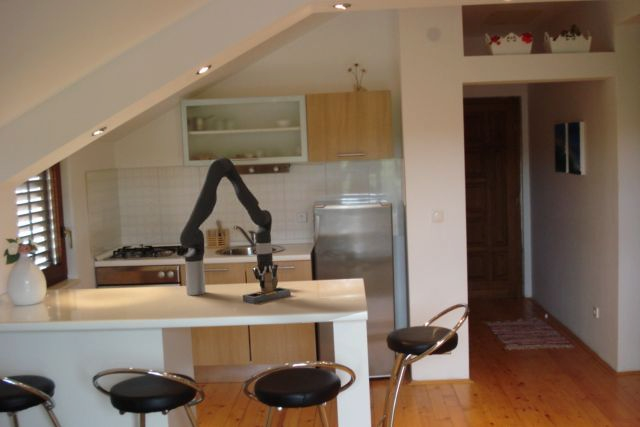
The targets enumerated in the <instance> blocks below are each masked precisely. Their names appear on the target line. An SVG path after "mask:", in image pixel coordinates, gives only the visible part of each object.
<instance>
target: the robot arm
mask: <svg viewBox="0 0 640 427" xmlns="http://www.w3.org/2000/svg"><path fill="white" fill-rule="evenodd" d="M223 178H226V179H227V180H228V181H229V182H230V184H231V185H232V187H233V189H234V192H235V196H236V198H237V199H238V201H239V203H240V204H241V205H242V206H243V208H244V209H245V210H246V211H247V214H248V216H249V218H250V219H251V221H252V222H253V224H255V225H256V226H258V229H257V231H256V233H255V234H256V235H255V240H256V247H255V248H256V249H255V250H256V261H257V265H256V267H253V268H252V272H253V275H254V278H255V280H258V281H259V287H260V289H261V288H264V273H266V272H272V285H273V277H275V276H276V273H277V272H278V268H279V265H278V264H275V263H274V264H273V263H272V261H273V247H272V236H271V235H272V234H271V232H272V231H271V230H272V224H273V217H272V213H271V212H270V211H269V210H266V209H261V208H260V206H259V204H260V203H259V200H258V199H257V198H256V196H255V195H254V194H253V193H252V191H251V190H250V189H249V188H248V186H247V185H246V184H245V181H244V180H243V179H242V176H241V175H240V173H239V171H238V169H237V168H236V166H235V165H234V163H233V161H232V160H231V159H230V158H228V157H224V156H223V157H220V158H216V159H213V160H212V161H211V162H210V164H209V166H208V170H207V172H206V176H205V180H204V183H203V185H202V186H201V187H202V188H201V190H200V192H199V195H198V197H197V199H196V201H195V204H194V207H193V209H192V211H191V214H190V215H189V218H188V221H187V222H186V224H185V226H184V227H183V230H182V231H181V233H180V236H179V243H180V245H181V246H182V247H183V248H184V249H189V251H188V252H187V253H185V255H184V263H185V284H186V285H185V287H186V294H187V295H188V296H199V295H204V294H206V293H207V292H206V279H205V278H206V277H205V266H204V265H205V263H204V256H205V235H204V233H203V231H202V230H201V228H200V227H201V226H202V225H203V223H205V221H207V219H208V218H209V217H210V216H211V215H212V213H213V211H214V209H215V206H216V205H217V204H216V203H217V200H218V194H217V191H218V186H219V185H220V182H221V181H222V180H223ZM271 269H272V270H271ZM261 273H263V274H261Z"/></svg>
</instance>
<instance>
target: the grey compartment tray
mask: <svg viewBox="0 0 640 427" xmlns="http://www.w3.org/2000/svg"><path fill="white" fill-rule="evenodd" d="M291 291H292V290H291V289H289V288H284V287H276V288H274V289H273V292H272V293H267V294H264V293H261V290H260V291H256V292H252V293H247V294H242V302H243V303H248V304H252V305H257V304H261V303H265V302H270V301H274V300H279V299H282V298H287V297H291V296H292V294H291Z"/></svg>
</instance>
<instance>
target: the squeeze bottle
mask: <svg viewBox="0 0 640 427" xmlns="http://www.w3.org/2000/svg"><path fill="white" fill-rule="evenodd" d="M272 263H273V264H275V263H274V261H272ZM271 270H272V269H271ZM278 284H279V281H278V274H277V273H276V276H275V277H273V285H272V288H273V289H274V288H278V287H277V286H278Z"/></svg>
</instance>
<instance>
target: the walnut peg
mask: <svg viewBox="0 0 640 427" xmlns="http://www.w3.org/2000/svg"><path fill="white" fill-rule="evenodd" d="M261 274H263V273H261ZM260 291H261V293H264V294H267V293H272V292H273V288H272V272H266V273H264V288H261V287H260Z"/></svg>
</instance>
